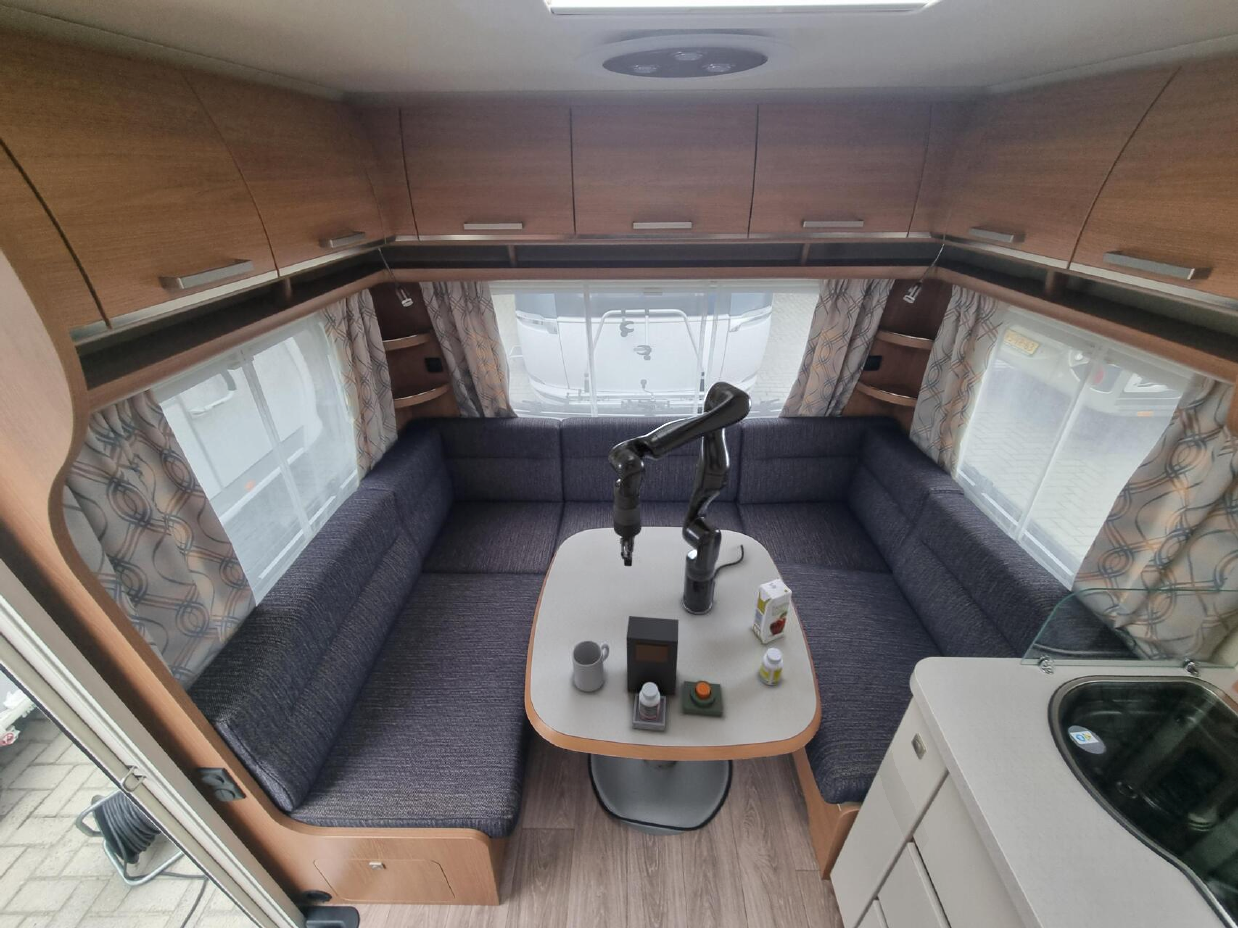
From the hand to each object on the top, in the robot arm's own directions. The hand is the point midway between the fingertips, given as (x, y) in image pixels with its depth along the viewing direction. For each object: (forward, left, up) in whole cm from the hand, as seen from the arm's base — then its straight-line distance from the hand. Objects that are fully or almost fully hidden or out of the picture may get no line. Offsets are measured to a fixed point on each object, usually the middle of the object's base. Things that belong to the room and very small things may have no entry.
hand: (628, 564), depth 139 cm
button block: (0, +31, -27) cm, 41 cm away
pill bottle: (+14, +25, -26) cm, 39 cm away
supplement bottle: (-20, +38, -27) cm, 51 cm away
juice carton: (-32, +28, -27) cm, 50 cm away
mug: (+18, +6, -27) cm, 33 cm away
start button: (0, +31, -23) cm, 39 cm away
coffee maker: (+10, +22, -27) cm, 36 cm away
